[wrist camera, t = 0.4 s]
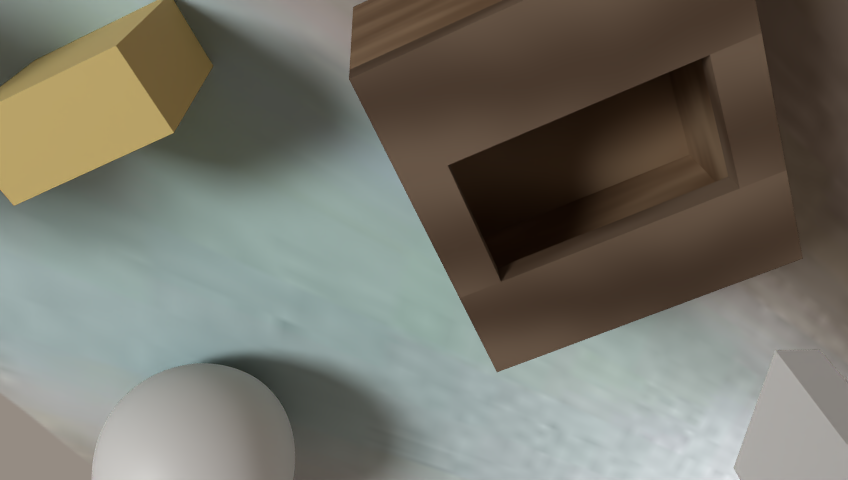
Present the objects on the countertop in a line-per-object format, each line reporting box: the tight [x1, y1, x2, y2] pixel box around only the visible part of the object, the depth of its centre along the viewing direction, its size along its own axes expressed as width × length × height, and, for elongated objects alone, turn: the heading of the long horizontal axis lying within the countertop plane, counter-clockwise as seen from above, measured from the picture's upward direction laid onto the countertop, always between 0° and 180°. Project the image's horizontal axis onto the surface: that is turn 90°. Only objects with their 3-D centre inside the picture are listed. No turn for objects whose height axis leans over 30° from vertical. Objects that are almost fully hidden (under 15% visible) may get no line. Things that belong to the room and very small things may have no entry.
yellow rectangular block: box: [0, 0, 213, 206], centre depth 30 cm, size 4×7×8 cm, turn 113°
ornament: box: [92, 363, 295, 480], centre depth 38 cm, size 10×10×12 cm
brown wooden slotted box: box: [349, 0, 803, 372], centre depth 31 cm, size 14×13×10 cm
